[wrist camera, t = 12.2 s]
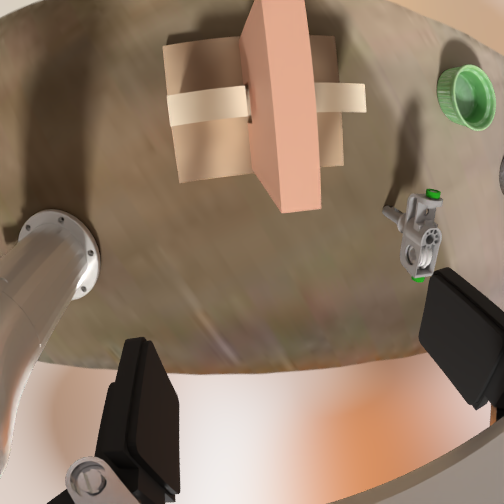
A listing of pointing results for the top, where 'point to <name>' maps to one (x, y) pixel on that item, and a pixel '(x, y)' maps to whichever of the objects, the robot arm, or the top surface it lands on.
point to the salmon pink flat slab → (282, 103)
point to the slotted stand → (241, 106)
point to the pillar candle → (502, 176)
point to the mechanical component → (418, 233)
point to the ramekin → (467, 96)
